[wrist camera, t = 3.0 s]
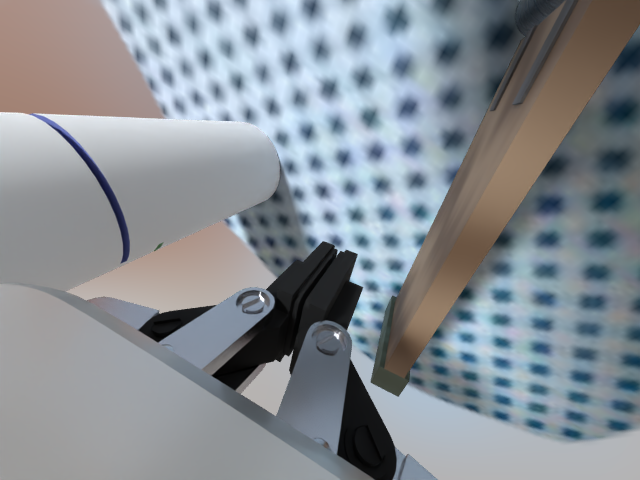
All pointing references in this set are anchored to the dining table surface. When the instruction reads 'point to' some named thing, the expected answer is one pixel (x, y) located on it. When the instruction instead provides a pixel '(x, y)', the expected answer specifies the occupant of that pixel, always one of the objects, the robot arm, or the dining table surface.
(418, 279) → the wooden plank on edge
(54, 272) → the cylindrical container
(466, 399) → the dining table surface
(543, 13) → the hinge post
